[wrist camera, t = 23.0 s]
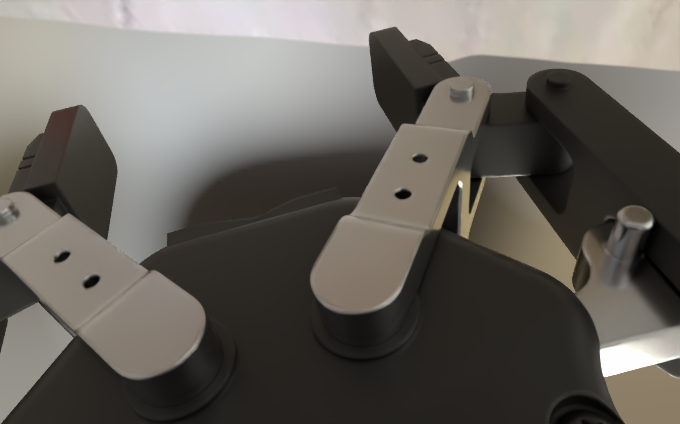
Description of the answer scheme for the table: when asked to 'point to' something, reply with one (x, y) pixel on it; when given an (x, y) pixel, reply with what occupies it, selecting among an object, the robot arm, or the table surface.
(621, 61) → the table surface
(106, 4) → the table surface
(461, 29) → the table surface
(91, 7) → the table surface
